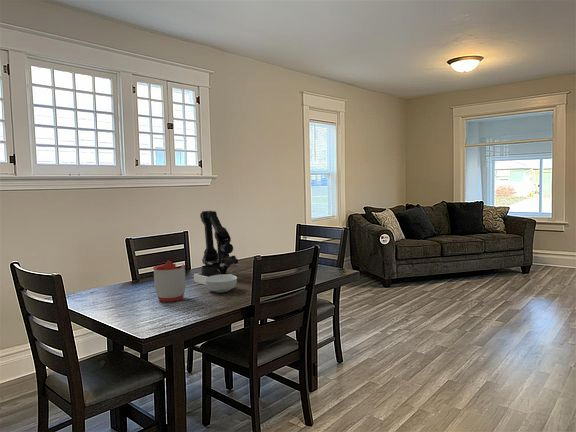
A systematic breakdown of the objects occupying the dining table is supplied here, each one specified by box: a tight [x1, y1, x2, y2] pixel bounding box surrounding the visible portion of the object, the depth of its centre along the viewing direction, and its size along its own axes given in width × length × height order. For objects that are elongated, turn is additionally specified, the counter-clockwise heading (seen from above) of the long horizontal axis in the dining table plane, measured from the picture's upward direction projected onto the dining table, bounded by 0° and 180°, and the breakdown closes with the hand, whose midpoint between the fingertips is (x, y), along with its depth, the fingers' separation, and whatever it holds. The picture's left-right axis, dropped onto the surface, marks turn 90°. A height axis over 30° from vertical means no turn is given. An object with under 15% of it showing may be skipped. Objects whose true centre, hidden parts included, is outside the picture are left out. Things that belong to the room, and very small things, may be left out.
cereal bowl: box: [205, 273, 238, 294], centre depth 242 cm, size 17×17×7 cm
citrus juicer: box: [152, 260, 186, 303], centre depth 228 cm, size 16×17×20 cm
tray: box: [193, 272, 233, 286], centre depth 264 cm, size 18×14×4 cm
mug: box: [200, 264, 221, 277], centre depth 264 cm, size 9×12×9 cm
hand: (223, 277), depth 269 cm, fingers closed
